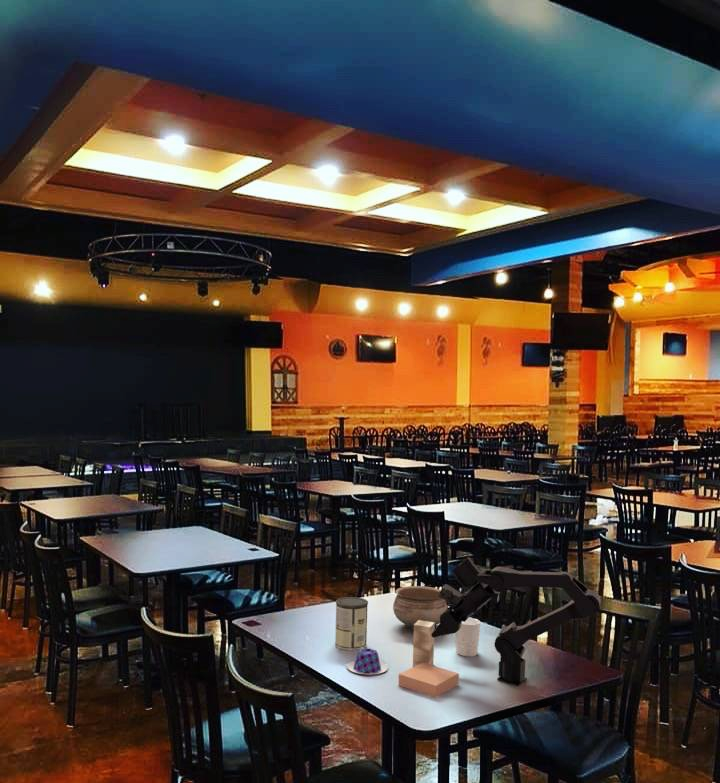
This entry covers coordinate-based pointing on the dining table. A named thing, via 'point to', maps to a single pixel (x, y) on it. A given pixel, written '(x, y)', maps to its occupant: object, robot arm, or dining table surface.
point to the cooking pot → (418, 605)
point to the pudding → (367, 662)
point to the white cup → (468, 637)
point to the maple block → (423, 643)
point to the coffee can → (351, 623)
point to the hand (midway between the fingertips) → (436, 631)
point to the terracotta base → (428, 679)
